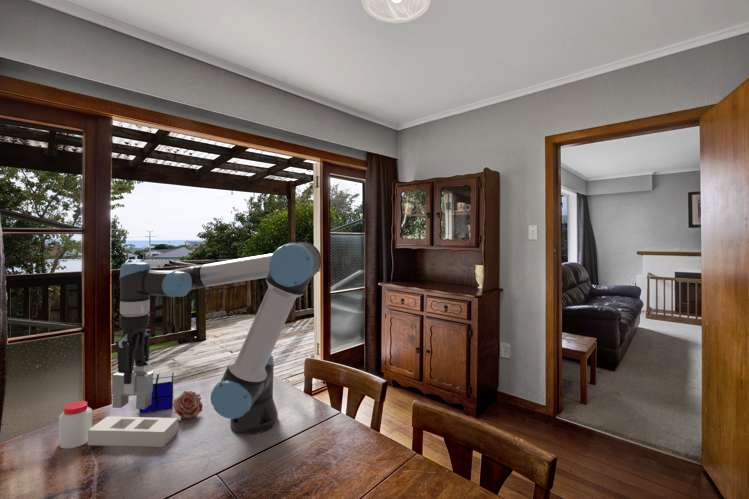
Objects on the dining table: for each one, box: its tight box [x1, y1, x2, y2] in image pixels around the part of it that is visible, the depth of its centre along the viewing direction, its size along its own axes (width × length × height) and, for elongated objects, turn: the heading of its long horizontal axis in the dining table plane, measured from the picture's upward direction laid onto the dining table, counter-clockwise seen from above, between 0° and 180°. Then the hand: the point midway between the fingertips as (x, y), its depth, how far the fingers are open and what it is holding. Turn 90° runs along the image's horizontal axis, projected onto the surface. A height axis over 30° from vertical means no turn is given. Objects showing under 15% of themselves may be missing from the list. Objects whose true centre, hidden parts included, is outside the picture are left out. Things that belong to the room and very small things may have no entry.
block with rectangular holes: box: [87, 416, 179, 448], centre depth 112 cm, size 22×8×4 cm, turn 91°
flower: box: [170, 390, 203, 421], centre depth 125 cm, size 10×9×8 cm
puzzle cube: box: [139, 371, 174, 415], centre depth 132 cm, size 10×10×10 cm
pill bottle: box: [58, 400, 93, 449], centre depth 109 cm, size 8×8×11 cm
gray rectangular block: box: [111, 370, 154, 410], centre depth 111 cm, size 10×4×10 cm, turn 91°
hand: (133, 390), depth 111 cm, fingers closed on gray rectangular block, 3 cm apart
